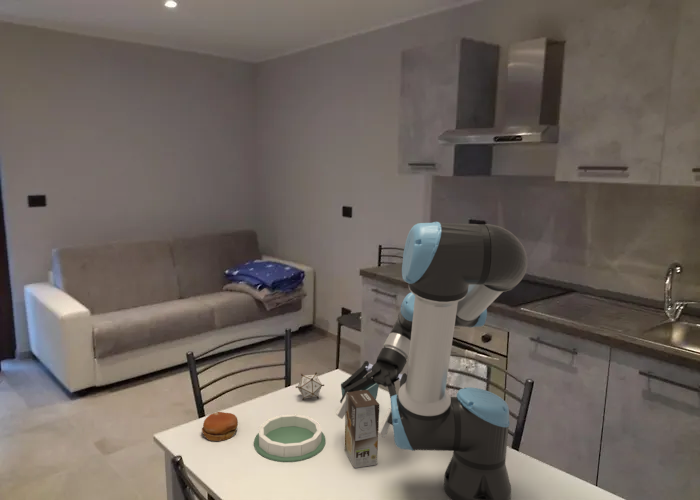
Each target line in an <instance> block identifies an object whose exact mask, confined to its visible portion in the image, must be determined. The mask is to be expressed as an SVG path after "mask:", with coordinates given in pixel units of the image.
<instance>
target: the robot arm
mask: <svg viewBox="0 0 700 500" xmlns="http://www.w3.org/2000/svg"><path fill="white" fill-rule="evenodd" d="M401 264H402V265H401V276H402V280H403V282H405V283H407V284H408V290H409V291H410V292H409V293H407V294H406V295H405V297H404V298H403V301H402V302H401V304H400V310H399V312H398V316H397V318H396V320H395V322H394V324H393V326H392V329H391V331H390V332H389V334H388V337H387V338H386V340H385V342H384V344H383V348H381V350H380V351H379V353H378V356H377V358H376V361H375V363H374V364H371V363H370V362H369V361H368V360H365V361H364V362H363V363H362V365H361V366H360V368H358V369H357V370H356V371H355V372H354V373H352V374H351V375H350V376H349V377H348V378H346V379H345V381H343V382H341V383H342V384H341V383H340V387H342V388H343V389H344V390H345V392H344V394H343V396H342V397H341V398H340V401H339V402H340V405H339V406H338V409H337V410H336V412H335V415H336V416H337V417H338V418H339V419H341V420H343V418H344V416H345V408H346V392H353V391H359V390H361V389H363V388H365V387H366V386H368V385H370V384H374V383H375V382H376V384H379V385H380V386H383V387H385V388H387V389H388V394H389V397H390V407H389V408H388V410H387V412H386V414H385V416H384V418H383V420H382V422H381V424H380V426H379V428H378V435H380V436H381V437H382V438H385V437H386V435H387V433H388V431H389V429H390V427H391V425H392V430H393V431H392V433H393V439H394V440H393V441H394V445H395V446H396V448H399V449H400V450H408V451H412V452H413V451H414V452H415V451H438V452H442V451H443V452H444V451H447V452H449V451H450V452H453V453H452V456H451V458H450V460H449V463H448V465H447V466H446V467H447V468H446V470H445V471H444V474H443V489H444V492H445V494H446V495H447V496H448V497H449V498H451V500H511V498H512V497H511V496H512V494H511V493H512V485H511V483H510V479H509V473H508V469H507V465H506V458H507V450H508V449H507V447H508V436H509V429H510V428H509V427H510V424H511V423H510V407H509V405H508V403H507V402H506V401H505V400H504V399H503V398H502V397H500V396H499V395H498V394H496V393H493V391H492V392H491V391H488V390H486V389H482V388H478V387H473V386H472V387H469V386H467V387H464V388H460V389H458V391H457V393H456V395H455V396H451V394H450V393H449V391H448V390H447V389H446V388H447V380H448V376H449V375H448V374H449V369H450V368H449V367H450V360H451V353H452V346H453V338H454V333H455V332H454V331H455V327H460V328H461V327H463V328H464V327H465V328H474V327H475V328H476V327H477V328H480V327H483V326H485V324H486V320H487V316H488V309H487V308H488V307H489V306H491V304H492V303H494V302H495V300H496V299H497V298H499V296H500V295H501V294H502V293H503V292H505V293H506V292H507V291H512V290H513V289H515V287H516V286H518V284H519V283H520V282H521V281H522V280H523V278H524V277H525V275H526V273H527V269H528V255H527V251H526V250H525V247H524V245H523V244H522V242H521V241H520V240H519V238H518V237H517V236H516V235H515V234H513V232H511V231H510V230H508V229H505V228H504V227H501V226H499V225H495V224H489V223H483V224H482V223H481V224H477V223H457V222H456V223H454V222H453V223H452V222H451V223H450V222H440V221H433V222H420V223H419V222H418V223H416V224H414V225H413V226H412V227H411V229H410V230H409V232H408V234H407V237H406V240H405V245H404V248H403V254H402V263H401ZM407 360H408V362H407ZM406 364H407V371H406V373H404V372H403V370H404V368H405V366H406ZM402 372H403V373H402ZM363 377H364V378H363ZM397 381H399V388H398V394H397V390H396V389H397V388H396V386H395V385H396V384H395V383H396V382H397Z"/></svg>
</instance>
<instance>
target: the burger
mask: <svg viewBox="0 0 700 500" xmlns="http://www.w3.org/2000/svg"><path fill="white" fill-rule="evenodd" d="M238 421H239V420H238V417H237V416H236V415H235V414H234V413H231V412H223V411H217V412H213V413H211V414H209V415H208V416H207V417H206V418H204V421H203V423H202V424H203V425H202V428H201V432H202V434H203V436H204V437H205V439H207V440H208V441H212V442H221V441H227V440H229V439H231V438H233V437H234V436H235V434H236V431H237V429H238V425H239V422H238Z"/></svg>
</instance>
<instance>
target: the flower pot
mask: <svg viewBox="0 0 700 500" xmlns="http://www.w3.org/2000/svg"><path fill="white" fill-rule="evenodd" d="M364 377H365V376H364ZM364 377H363V378H364ZM342 383H343V382H341V383H340V385H341V384H342ZM340 387H341V386H340ZM379 387H380V386H379V384H376V382H375V383H374V384H370V385H368V386H366V387H365V388H363V389H361V390H368V391H369V392H370V393H371V395H372V396H373V397H374V398H375V400H376V401H377V397H378V391H379ZM359 391H360V390H359ZM344 392H345V390H344V389H343V388H342V387H341V395H342V396H343V394H344Z"/></svg>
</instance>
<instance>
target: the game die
mask: <svg viewBox="0 0 700 500" xmlns="http://www.w3.org/2000/svg"><path fill="white" fill-rule="evenodd" d="M317 374H318V372H317V371H316V372H315V373H314V374H306V375H304V374H303V373H300V376H301V378H300V379H299V383H298V385H296V386H295V389H298V391H299V392H300V394H301V396H302V401H304V400H305V399H309V398H310V399H312V398H316V399H318V400H319V399H320V398H319V397H320V396H319V393H320V391H321V389H322V387H324V386H325V384H322V382H321V381H320V379H319V378H318V375H317Z"/></svg>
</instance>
